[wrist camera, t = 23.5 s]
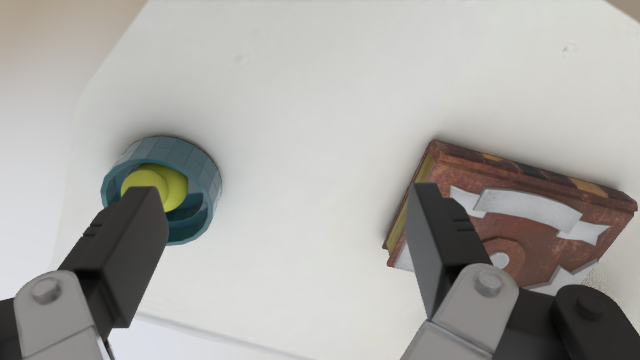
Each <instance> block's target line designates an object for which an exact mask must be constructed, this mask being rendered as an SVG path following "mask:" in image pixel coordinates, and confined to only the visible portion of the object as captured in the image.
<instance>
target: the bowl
mask: <svg viewBox="0 0 640 360" xmlns="http://www.w3.org/2000/svg"><path fill="white" fill-rule="evenodd" d="M142 163H153V164H160V165H165V166H168V167H170V168H173V169H175V170H178V171H180V172H182V173H183V174H184V175H186V176H187V179H188V192H187V195H186V197H185V199H184V201H183V202H182V203H181V204H180V205H179V206H178V207H176V208H175V209H173V210H171V211H168V212H165V214H166V218H167V221H168V226H169V237H168V241H167V244H166V246H172V245H181V244H185V243H188V242H190V241H193V240H195V239H197V238H198V237H200V236H201V235H202V234H203V233H204V232H205V231H206V230H207V229H208V227H209V225H210V223H211V221H212V219H213V216H214V213H215V210H216V207H217V204H218V201H219V198H220V195H221V179H220V176H219V173H218V170H217V167H216V166H215V164H214V163H213V162H212V160H211V159H210V158H209V156H207V155H206V154H205V153H204V152H202V151H201V150H200V149H199V148H197V147H196V146H194V145H192V144H190V143H188V142H185V141H183V140H181V139H178V138H171V137H165V136H157V137H150V138H144V139H142V140H140V141H138V142H136V143H134V144H132V145H131V146H130V147H129V148H128V149H127V150H126V151H125V153H124V154H123V155H122V156H121V157H120V159H119V160H118V161H117V162H116V164H115V165H114V166H113V167H112V169H111V170H110V171H109V172H108V174H107V175H106V176H105V178H104V180H103V184H102V187H101V197H102V204H103V206H104V208H106V207H107V206H108V205H110V204H111V203H112V202H119V200H120V199H121V186H122V184H123V182H124V180H125V179H126V178H127V177H128V176H129V175H130V174H131V173H133V172H134V171H135V170H136V169H137V168H138V167H139V166H140V165H141V164H142Z"/></svg>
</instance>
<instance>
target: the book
mask: <svg viewBox="0 0 640 360" xmlns="http://www.w3.org/2000/svg"><path fill="white" fill-rule="evenodd" d="M412 182H435V183H436V184H437V186H438V188H439V190H440V193H441V195H442V197H443V198H454V199H455V200H456V201H457V202H458V203H460V204H461V205H462V206H463V207H464V208H465V210H466V212H467V214H468V216H469V218H470V222H472V224H473V225H474V227H475V231H477V233H478V235H479V237H480V239H481V241H482V243H483V245H484V247H485V249H486V251H487V253H488V255H489V257H490V259H491V261H492V263H493V265H494V266H496V267H498V268H500V269H502V270H504V271H505V272H507V273H508V274H509V275H510V276H511V277H512V278H513V279H514V280H515V282H516V283H517V285H518V287H521V288H523V289H527V290H530V291H535V292H539V293H543V294H548V295H552V296H555V295H556V293H557V291H558V290H559V289H560V288H561V287H563V286H565V285H570V284H578V285H581V283H582V282H583V281H584V279H585V278H586V277H587V276H588V274H589V273H590V272H591V271H592V269H593V268H594V267H595V266H596V264H597V263H598V262H599V261H598V260H599V259H600V258H601V256H602V255H603V254H604V253H605V251H606V250H607V249H608V248H609V246H610V245H611V244H612V243H613V241H614V240H615V239H616V238H617V236H618V235H619V234H620V233H621V231H622V230H623V229H624V228H625V226H626V225H627V224H628V223H629V221H630V220H631V219H632V218H633V216H634V212H635V211H638V206H637V202H636V201H635V200H633V199H632V198H631V197H629V196H628V195H627V194H625V193H624V192H622V191H618V190H614V189H611V188H607V187H603V186H600V185H596V184H592V183H589V182H585V181H582V180H578V179H574V178H571V177H567V176H563V175H560V174H556V173H552V172H549V171H545V170H542V169H538V168H534V167H531V166H527V165H523V164H520V163H516V162H512V161H509V160H505V159H502V158H498V157H494V156H491V155H487V154H483V153H480V152H476V151H472V150H469V149H465V148H461V147H458V146H454V145H451V144H447V143H443V142H440V141H436V140H433V141H432V142H430V143H429V147H428V148H427V149H426V151H425V153H424V156H423V158H422V160H421V162H420V164H419V167H418V169H417V171H416V173H415V175H414V178H413V180H412ZM412 182H411V183H412ZM409 187H410V186H409ZM408 193H409V189H408V191H407V193H406V195H405V197H404V200H403V202H402V204H401V206H400V208H399V210H398V213H397V215H396V217H395V219H394V221H393V224H392V226H391V228H390V230H389V232H388V235H387V237H386V239H385V241H384V243H383V246H382V248H383V249H386V250H388V252H389V255H390V257H389V259H388V261H387V266H388V267H393V268H397V269H402V270H407V271H411V272H415V270H414V267H413V263H412V260H411V256H410V252H409V249H408V245H407V242H406V237H405V216H406V208H407V201H408Z"/></svg>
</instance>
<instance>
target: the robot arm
mask: <svg viewBox="0 0 640 360" xmlns="http://www.w3.org/2000/svg"><path fill="white" fill-rule="evenodd" d="M168 237H169V226H168V221H167V218H166V214H165V211H164V207H163V204H162V201H161V197H160V194H159V191H158V189H157V187H156V186H130V187H129V188H128V189H127V190H126V191H125V193H124V194H123V196H122V197H121V199H120V200H119V202H112V203H111V204H110V205H108V206H107V207H106V208H104V209H103V210H102V211H100V212H99V213H98V214H97V216H96V217H95V218H94V220H93V221H92V222H91V224H90V227H88V228H87V229H86V231H85V232H84V233H83V237H81V238H80V239H79V240H78V242H77V243H76V245H75V246H74V247H73V249H72V250H71V251H70V253H69V254H68V256H67V257H66V258H65V260H64V261H63V262H62V264H61V265H60V267H59V268H58V269H57V270H56V271H51V272H47V273H45V274H42V275H40V276H38V277H36V278H34V279H32V280H31V281H29V282H28V283H26V284H25V285H24V286H23V287H22V288H21V289H20V290H19V291H18V293H17V294H16V297H14V298H10V299H6V300H2V301H0V360H116V358H115V355H114V352H113V350H112V348H111V344H110V342H109V340H108V336H109V334H110V332H111V330H112V328H129V326H130V324H131V321H132V319H133V317H134V315H135V313H136V310H137V308H138V306H139V304H140V302H141V299H142V297H143V295H144V293H145V290H146V288H147V286H148V284H149V282H150V279H151V277H152V275H153V273H154V271H155V268H156V266H157V264H158V262H159V259H160V257H161V255H162V253H163V251H164V248H165V246H166V244H167V241H168ZM405 237H406V242H407V245H408V249H409V252H410V256H411V260H412V263H413V267H414V270H415V274H416V278H417V281H418V285H419V288H420V292H421V296H422V299H423V303H424V307H425V310H426V314H427V317H428V319H426V320H425V321H424V323H423V324H422V325H421V327H420V328H419V330H418V332H417V333H416V335H415V336H414V338H413V340H412V341H411V343H410V344H409V346H408V348H407V349H406V351H405V353H404V354H403V356H402V357H401V359H400V360H640V336H639V334H638V333H637V331H636V330H635V328H634V327H633V326H632V324H631V323H630V321H629V320H628V318H627V317H626V315H625V314H624V313H623V311H622V310H621V308H620V307H619V306H618V305H617V303H615V302H614V301H613V300H612V299H611V298H610V297H608V296H607V295H605V294H604V293H602V292H600V291H598V290H596V289H594V288H591V287H588V286H584V285H578V284H570V285H565V286H563V287H561V288H560V289H559V290H558V291H557V293H556V295H555V296H552V295H548V294H543V293H539V292H535V291H530V290H527V289H523V288H521V287H518V285H517V283H516V282H515V280H514V279H513V278H512V277H511V276H510V275H509V274H508V273H507V272H505V271H504V270H502V269H500V268H498V267H496V266H494V265H493V263H492V261H491V259H490V257H489V255H488V253H487V251H486V249H485V247H484V245H483V243H482V241H481V239H480V237H479V235H478V233H477V231H475V227H474V225H473V224H472V222H470V218H469V216H468V214H467V212H466V210H465V208H464V207H463V206H462V205H461V204H460V203H458V202H457V201H456V200H455V199H454V198H443V197H442V195H441V193H440V190H439V188H438V186H437V184H436V183H435V182H412V183H411V184H410V187H409V193H408V201H407V208H406V216H405Z"/></svg>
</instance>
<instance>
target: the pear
mask: <svg viewBox="0 0 640 360" xmlns="http://www.w3.org/2000/svg"><path fill="white" fill-rule="evenodd" d="M130 186H156V187H157V189H158V191H159V194H160V197H161V201H162V204H163V207H164V211H165V212H168V211H171V210H173V209H175V208H176V207H178V206H179V205H180V204H181V203H182V202H183V201H184V199H185V197H186V195H187V192H188V179H187V176H186V175H184V174H183V173H182V172H180V171H178V170H175V169H173V168H170V167H168V166H165V165H160V164H153V163H142V164H141V165H140V166H139V167H138V168H137V169H136V170H135V171H134V172H133V173H131V174H130V175H129V176H128V177H127V178H126V179H125V180H124V182H123V184H122V186H121V197H122V196H123V194H124V193H125V191H126V190H127V189H128V188H129V187H130Z"/></svg>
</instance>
